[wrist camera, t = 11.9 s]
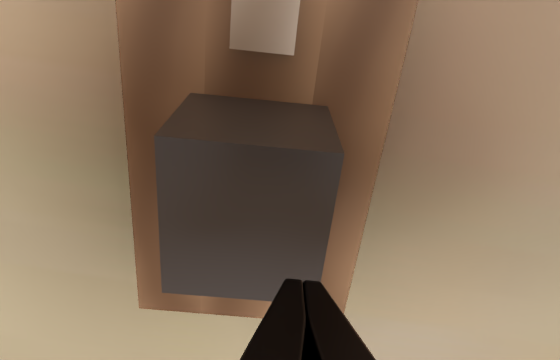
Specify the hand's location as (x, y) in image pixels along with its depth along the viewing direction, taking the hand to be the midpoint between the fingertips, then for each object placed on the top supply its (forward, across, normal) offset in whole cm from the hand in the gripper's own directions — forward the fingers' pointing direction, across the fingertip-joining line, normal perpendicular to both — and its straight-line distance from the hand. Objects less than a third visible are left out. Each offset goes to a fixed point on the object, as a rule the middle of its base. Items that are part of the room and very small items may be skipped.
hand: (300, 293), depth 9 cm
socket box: (+12, +2, +1) cm, 12 cm away
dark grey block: (+11, +2, +1) cm, 11 cm away
